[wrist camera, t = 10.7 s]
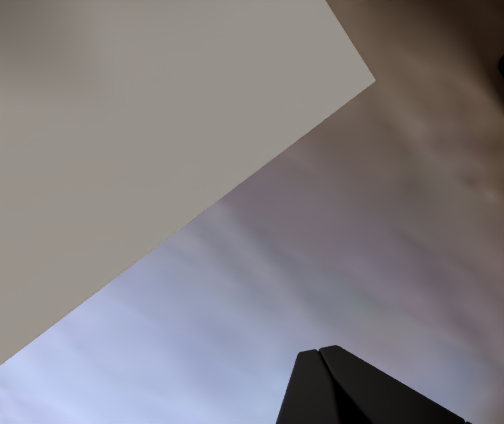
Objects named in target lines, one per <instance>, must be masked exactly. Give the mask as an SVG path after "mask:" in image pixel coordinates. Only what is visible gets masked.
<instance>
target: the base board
mask: <svg viewBox="0 0 504 424" xmlns="http://www.w3.org/2000/svg"><path fill="white" fill-rule="evenodd" d="M375 81H376V80H375V79H374V77H373V75H372V74H371V72H370V71H369V69H368V67H367V66H366V64H365V63H364V61H363V60H362V58H361V56H360V55H359V53H358V52H357V50H356V48H355V47H354V45H353V44H352V42H351V40H350V39H349V37H348V36H347V34H346V32H345V31H344V29H343V28H342V26H341V25H340V23H339V21H338V20H337V18H336V17H335V15H334V13H333V12H332V10H331V9H330V7H329V5H328V4H327V2H326V1H325V0H0V365H1V364H3V363H4V362H5V361H7V360H8V359H9V358H11V357H12V356H13V355H15V354H16V353H17V352H19V351H20V350H21V349H22V348H24V347H25V346H26V345H28V344H29V343H30V342H32V341H33V340H34V339H36V338H37V337H38V336H40V335H41V334H42V333H44V332H45V331H46V330H48V329H49V328H50V327H51V326H53V325H54V324H55V323H57V322H58V321H59V320H61V319H62V318H63V317H65V316H66V315H67V314H69V313H70V312H71V311H73V310H74V309H75V308H77V307H78V306H79V305H81V304H82V303H83V302H84V301H86V300H87V299H88V298H90V297H91V296H92V295H94V294H95V293H96V292H98V291H99V290H100V289H102V288H103V287H104V286H106V285H107V284H108V283H110V282H111V281H112V280H113V279H115V278H116V277H117V276H119V275H120V274H121V273H123V272H124V271H125V270H127V269H128V268H129V267H131V266H132V265H133V264H135V263H136V262H137V261H139V260H140V259H141V258H143V257H144V256H145V255H146V254H148V253H149V252H150V251H152V250H153V249H154V248H156V247H157V246H158V245H160V244H161V243H162V242H164V241H165V240H166V239H168V238H169V237H170V236H172V235H173V234H174V233H175V232H177V231H178V230H179V229H181V228H182V227H183V226H185V225H186V224H187V223H189V222H190V221H191V220H193V219H194V218H195V217H197V216H198V215H199V214H201V213H202V212H203V211H204V210H206V209H207V208H208V207H210V206H211V205H212V204H214V203H215V202H216V201H218V200H219V199H220V198H222V197H223V196H224V195H226V194H227V193H228V192H230V191H231V190H232V189H234V188H235V187H236V186H237V185H239V184H240V183H241V182H243V181H244V180H245V179H247V178H248V177H249V176H251V175H252V174H253V173H255V172H256V171H257V170H259V169H260V168H261V167H263V166H264V165H265V164H266V163H268V162H269V161H270V160H272V159H273V158H274V157H276V156H277V155H278V154H280V153H281V152H282V151H284V150H285V149H286V148H288V147H289V146H290V145H292V144H293V143H294V142H296V141H297V140H298V139H299V138H301V137H302V136H303V135H305V134H306V133H307V132H309V131H310V130H311V129H313V128H314V127H315V126H317V125H318V124H319V123H321V122H322V121H323V120H325V119H326V118H327V117H328V116H330V115H331V114H332V113H334V112H335V111H336V110H338V109H339V108H340V107H342V106H343V105H344V104H346V103H347V102H348V101H350V100H351V99H352V98H354V97H355V96H356V95H357V94H359V93H360V92H361V91H363V90H364V89H365V88H367V87H368V86H369V85H371V84H372V83H373V82H375Z"/></svg>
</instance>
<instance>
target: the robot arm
mask: <svg viewBox="0 0 504 424" xmlns="http://www.w3.org/2000/svg"><path fill="white" fill-rule="evenodd" d="M499 70H500V73H501V74H502V76H503V78H504V55H503V57H502V58H501V59H500V61H499ZM276 424H472V423H470V422H465V420H464V419H463V418H461V417H459V416H458V415H456V414H454V413H453V412H451V411H449V410H447V409H446V408H444V407H442V406H441V405H439V404H437V403H436V402H434V401H432V400H430V399H429V398H427V397H425V396H424V395H422V394H420V393H418V392H417V391H415V390H413V389H412V388H410V387H408V386H406V385H405V384H403V383H401V382H400V381H398V380H396V379H394V378H393V377H391V376H389V375H388V374H386V373H384V372H382V371H381V370H379V369H377V368H376V367H374V366H372V365H370V364H369V363H367V362H365V361H364V360H362V359H360V358H358V357H357V356H355V355H353V354H352V353H350V352H348V351H346V350H345V349H343V348H341V347H340V346H337V345H333V346H328V347H323V348H320V349H319V351H317V350H316V349H313V350H308V351H303V352H299V353H298V355H297V358H296V361H295V364H294V368H293V371H292V374H291V377H290V380H289V383H288V387H287V390H286V393H285V396H284V399H283V402H282V405H281V409H280V412H279V415H278V418H277V421H276Z"/></svg>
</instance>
